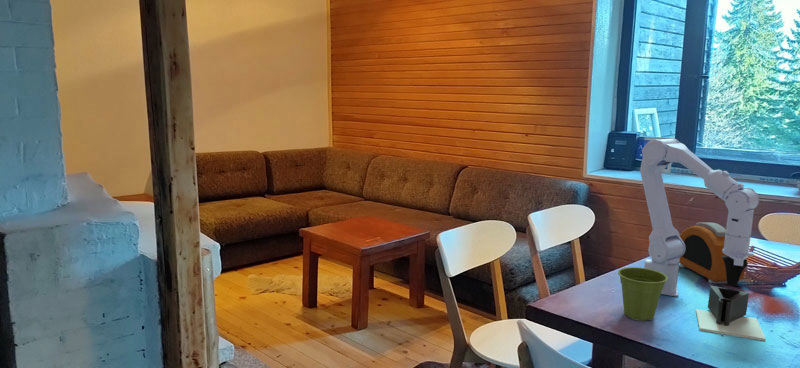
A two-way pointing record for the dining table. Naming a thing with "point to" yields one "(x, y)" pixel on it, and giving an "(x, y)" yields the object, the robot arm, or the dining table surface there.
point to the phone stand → (727, 304)
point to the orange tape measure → (705, 251)
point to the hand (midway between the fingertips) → (731, 284)
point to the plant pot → (641, 291)
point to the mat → (730, 326)
